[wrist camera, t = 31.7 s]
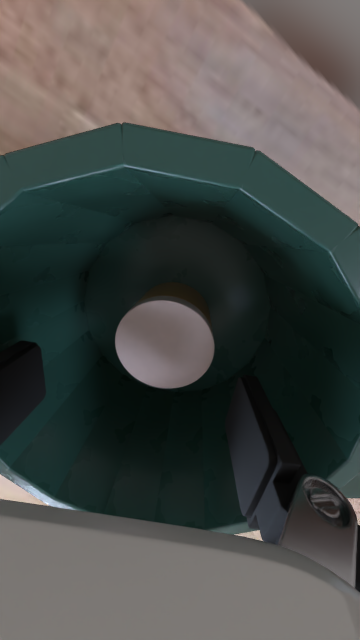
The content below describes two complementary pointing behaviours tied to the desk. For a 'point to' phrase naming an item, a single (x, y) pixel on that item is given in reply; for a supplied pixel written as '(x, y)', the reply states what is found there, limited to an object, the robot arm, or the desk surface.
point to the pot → (190, 269)
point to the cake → (167, 337)
